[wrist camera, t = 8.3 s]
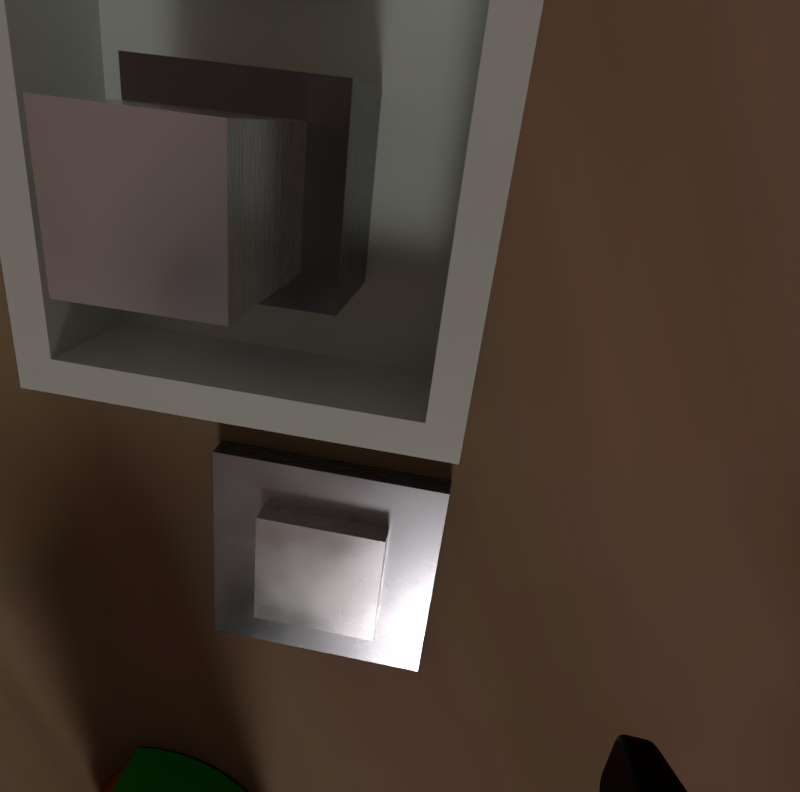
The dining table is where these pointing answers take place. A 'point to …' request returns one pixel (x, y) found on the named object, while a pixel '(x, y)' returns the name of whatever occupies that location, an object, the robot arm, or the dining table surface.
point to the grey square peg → (206, 189)
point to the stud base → (325, 553)
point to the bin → (389, 226)
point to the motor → (167, 775)
